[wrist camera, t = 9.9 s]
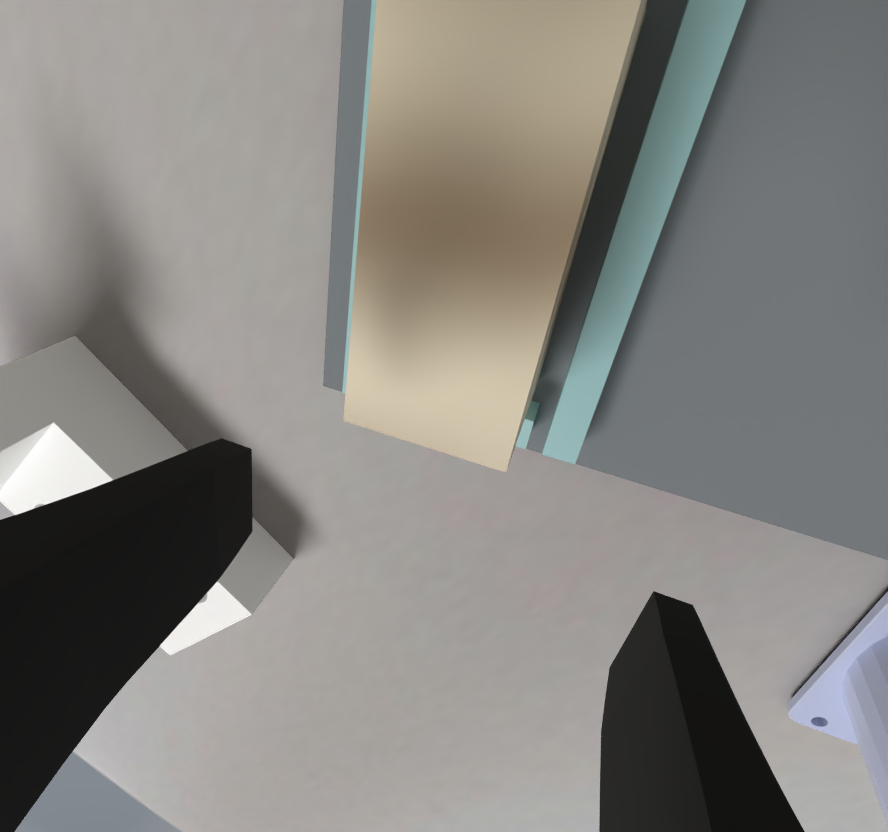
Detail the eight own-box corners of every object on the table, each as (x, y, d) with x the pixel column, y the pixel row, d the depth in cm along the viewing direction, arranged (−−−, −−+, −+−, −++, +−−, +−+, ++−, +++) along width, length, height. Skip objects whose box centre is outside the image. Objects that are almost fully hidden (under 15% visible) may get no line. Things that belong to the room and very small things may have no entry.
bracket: (23, 413, 26) (-171, 510, 20) (81, 333, 22) (-135, 422, 16) (217, 599, 29) (101, 737, 23) (296, 554, 25) (184, 704, 19)
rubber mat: (2433, -1002, 5) (2631, -1124, 5) (947, 566, 16) (957, 581, 16) (405, -825, 8) (390, -884, 8) (331, 378, 19) (323, 385, 19)
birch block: (538, 379, 16) (505, 472, 12) (414, 344, 17) (343, 421, 13) (645, 14, 12) (651, -37, 8) (467, -16, 12) (383, -77, 8)
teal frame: (769, -83, 10) (784, -103, 9) (578, 443, 17) (574, 464, 16) (404, -132, 12) (383, -154, 11) (358, 377, 18) (342, 392, 17)
